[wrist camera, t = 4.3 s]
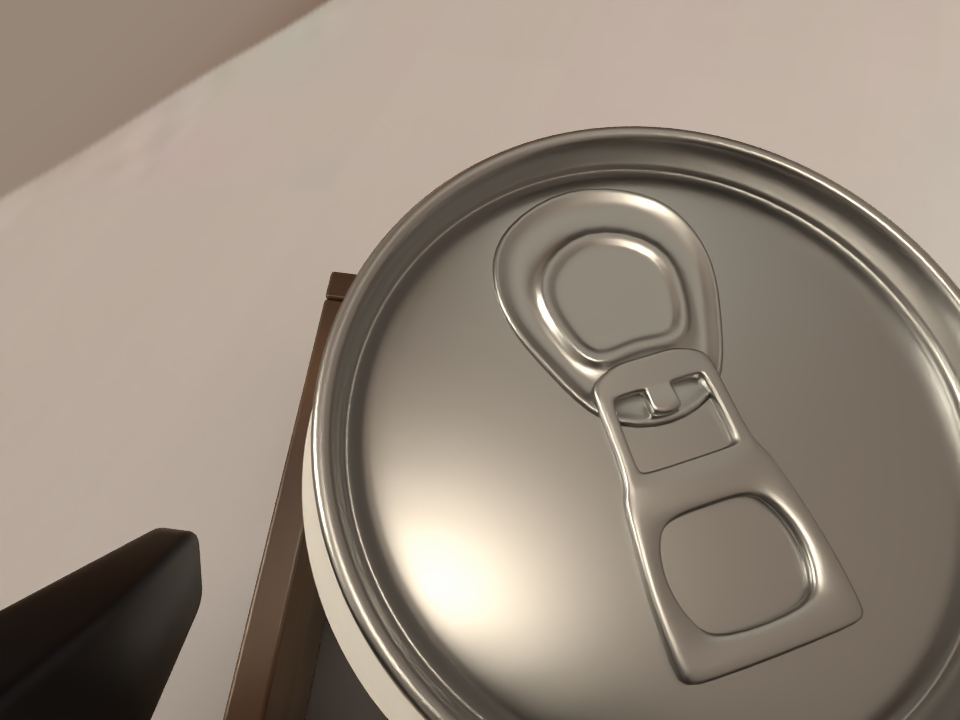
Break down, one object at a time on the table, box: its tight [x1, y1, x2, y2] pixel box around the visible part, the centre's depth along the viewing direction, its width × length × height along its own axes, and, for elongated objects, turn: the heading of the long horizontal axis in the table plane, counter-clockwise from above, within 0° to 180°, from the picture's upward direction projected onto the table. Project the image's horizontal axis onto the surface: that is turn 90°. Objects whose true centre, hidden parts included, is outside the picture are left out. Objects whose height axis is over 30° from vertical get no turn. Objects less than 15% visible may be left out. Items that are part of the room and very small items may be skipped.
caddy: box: [223, 272, 357, 720], centre depth 14 cm, size 10×10×4 cm
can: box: [302, 126, 960, 720], centre depth 10 cm, size 6×6×12 cm
